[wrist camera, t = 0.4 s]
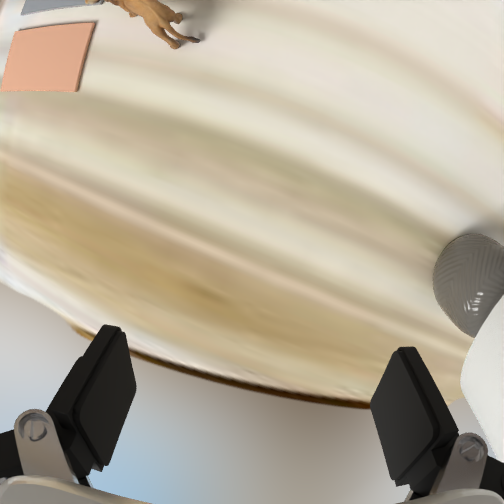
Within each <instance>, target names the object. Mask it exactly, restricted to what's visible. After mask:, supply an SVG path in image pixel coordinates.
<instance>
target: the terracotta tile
mask: <svg viewBox="0 0 504 504" xmlns="http://www.w3.org/2000/svg"><path fill="white" fill-rule="evenodd" d="M94 26H95V23H78V24H66V25H56V26H48V27H40V28H33V29H27V30H21V31H16V32H15V33H14V36H13V40H12V43H11V47H10V51H9V55H8V58H7V63H6V67H5V71H4V76H3V81H2V86H1V91H63V92H77V89H78V85H79V80H80V76H81V72H82V68H83V64H84V60H85V56H86V53H87V49H88V46H89V42H90V39H91V36H92V32H93V29H94Z"/></svg>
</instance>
